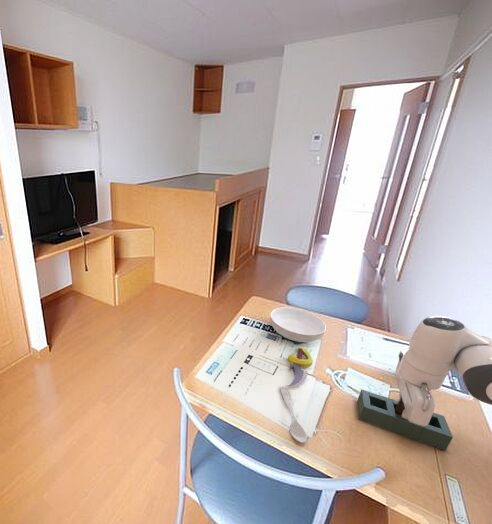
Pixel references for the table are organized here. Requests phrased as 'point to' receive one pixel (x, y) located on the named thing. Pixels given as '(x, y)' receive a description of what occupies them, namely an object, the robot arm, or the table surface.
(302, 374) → the knife
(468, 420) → the table surface
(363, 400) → the peg block
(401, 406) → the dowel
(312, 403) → the table surface
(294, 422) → the spoon
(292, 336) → the serving bowl
